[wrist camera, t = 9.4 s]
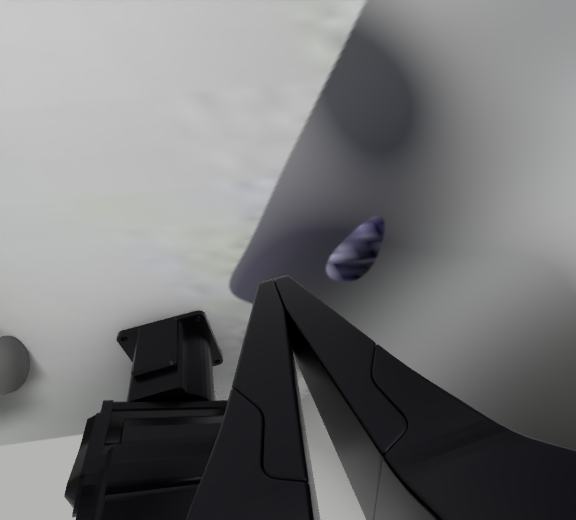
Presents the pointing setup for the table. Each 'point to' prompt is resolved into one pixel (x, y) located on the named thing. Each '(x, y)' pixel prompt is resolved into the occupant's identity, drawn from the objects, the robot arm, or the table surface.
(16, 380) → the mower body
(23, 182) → the table surface
